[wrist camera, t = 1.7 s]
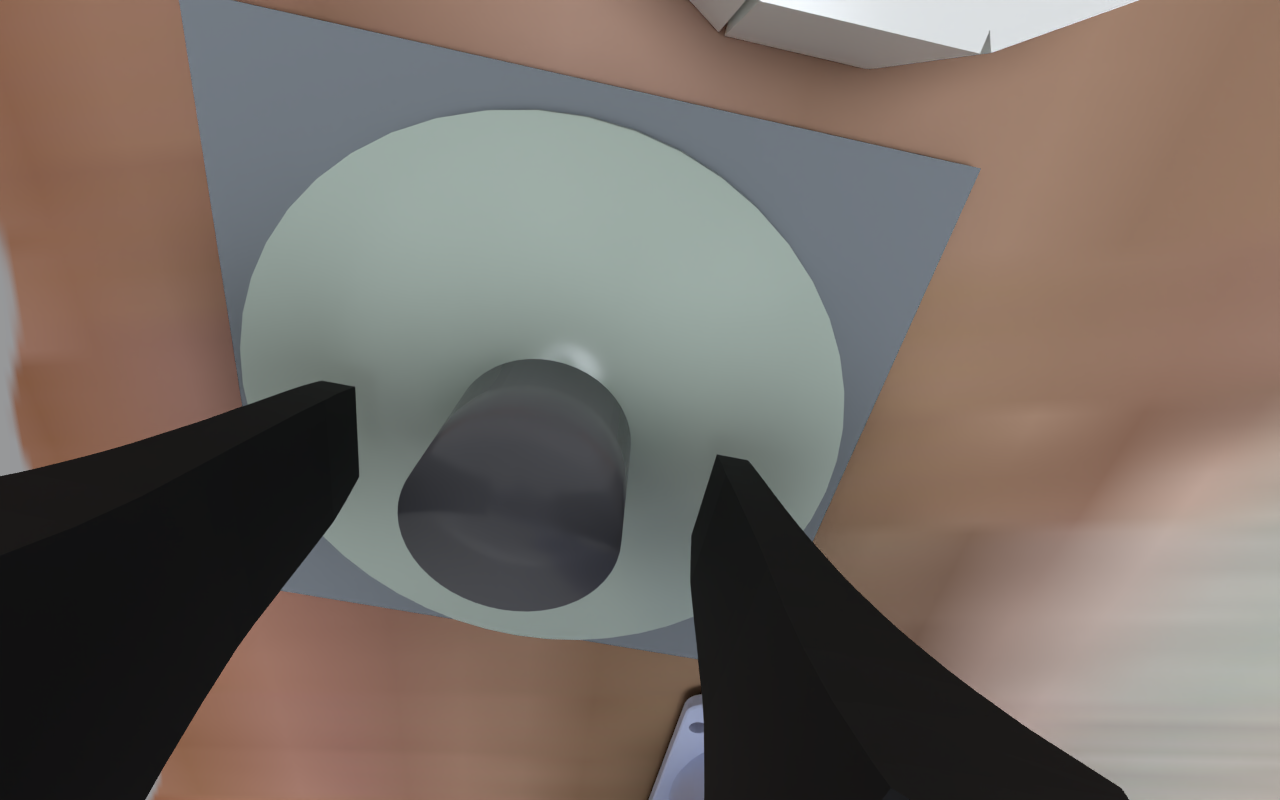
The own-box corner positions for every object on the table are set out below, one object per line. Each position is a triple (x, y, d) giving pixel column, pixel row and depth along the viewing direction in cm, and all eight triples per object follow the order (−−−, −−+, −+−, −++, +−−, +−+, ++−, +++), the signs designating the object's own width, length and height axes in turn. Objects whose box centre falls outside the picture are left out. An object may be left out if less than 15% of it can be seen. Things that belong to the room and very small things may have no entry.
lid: (743, 653, 15) (762, 788, 12) (290, 577, 15) (194, 702, 12) (939, 192, 10) (1062, 236, 7) (214, 34, 9) (-10, 5, 6)
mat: (753, 659, 16) (755, 668, 16) (277, 579, 15) (270, 589, 15) (972, 166, 10) (980, 168, 9) (191, -10, 9) (177, -13, 9)
